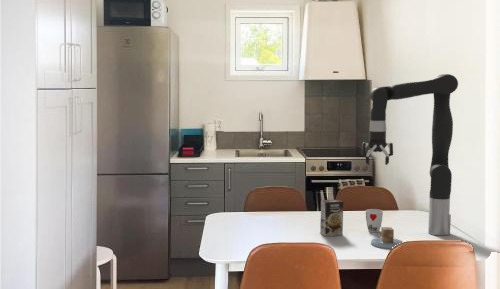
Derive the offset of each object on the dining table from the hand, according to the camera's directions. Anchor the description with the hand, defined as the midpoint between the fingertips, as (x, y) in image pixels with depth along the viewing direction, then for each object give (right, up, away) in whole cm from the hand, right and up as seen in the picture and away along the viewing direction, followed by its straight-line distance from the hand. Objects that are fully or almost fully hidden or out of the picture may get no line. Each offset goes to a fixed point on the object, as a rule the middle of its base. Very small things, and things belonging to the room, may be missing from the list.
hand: (377, 164), depth 264 cm
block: (+1, -34, -16) cm, 37 cm away
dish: (+1, -35, -16) cm, 38 cm away
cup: (0, -33, +8) cm, 34 cm away
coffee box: (-21, -33, +2) cm, 39 cm away
